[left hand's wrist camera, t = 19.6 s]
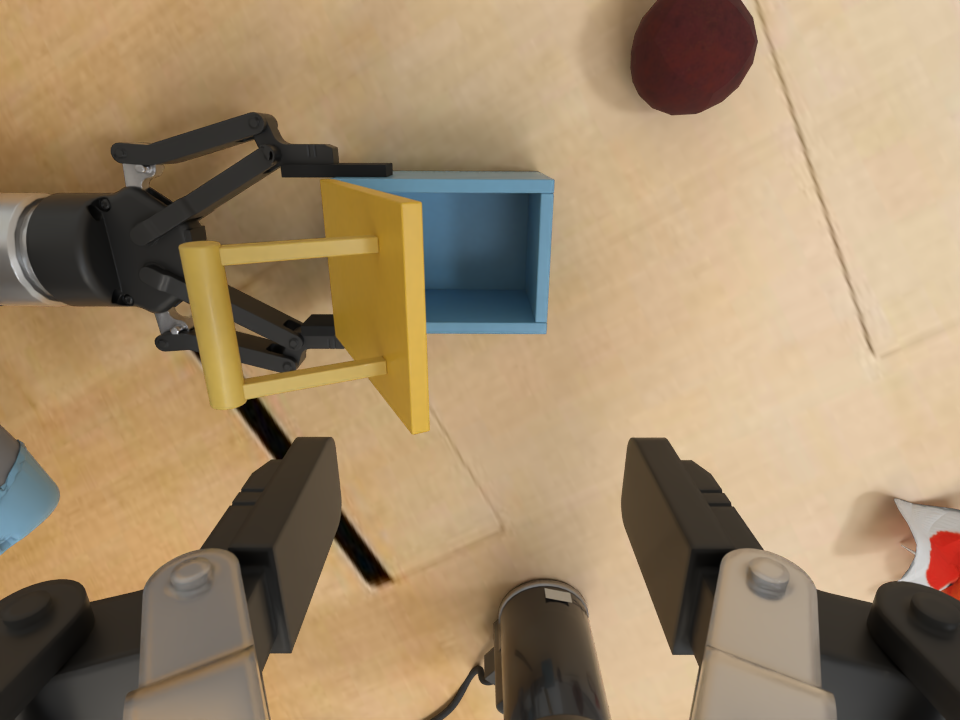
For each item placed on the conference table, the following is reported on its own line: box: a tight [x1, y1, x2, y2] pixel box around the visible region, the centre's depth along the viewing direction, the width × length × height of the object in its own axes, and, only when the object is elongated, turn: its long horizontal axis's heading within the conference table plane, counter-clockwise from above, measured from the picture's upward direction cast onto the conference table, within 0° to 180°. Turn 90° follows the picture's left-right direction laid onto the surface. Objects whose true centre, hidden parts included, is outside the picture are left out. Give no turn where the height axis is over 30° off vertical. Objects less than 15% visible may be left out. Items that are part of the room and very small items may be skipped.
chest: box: [330, 171, 554, 334], centre depth 39 cm, size 14×10×10 cm
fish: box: [894, 498, 960, 601], centre depth 51 cm, size 11×16×10 cm
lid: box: [179, 179, 430, 435], centre depth 26 cm, size 14×10×8 cm
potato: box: [631, 0, 758, 115], centre depth 35 cm, size 7×8×7 cm
